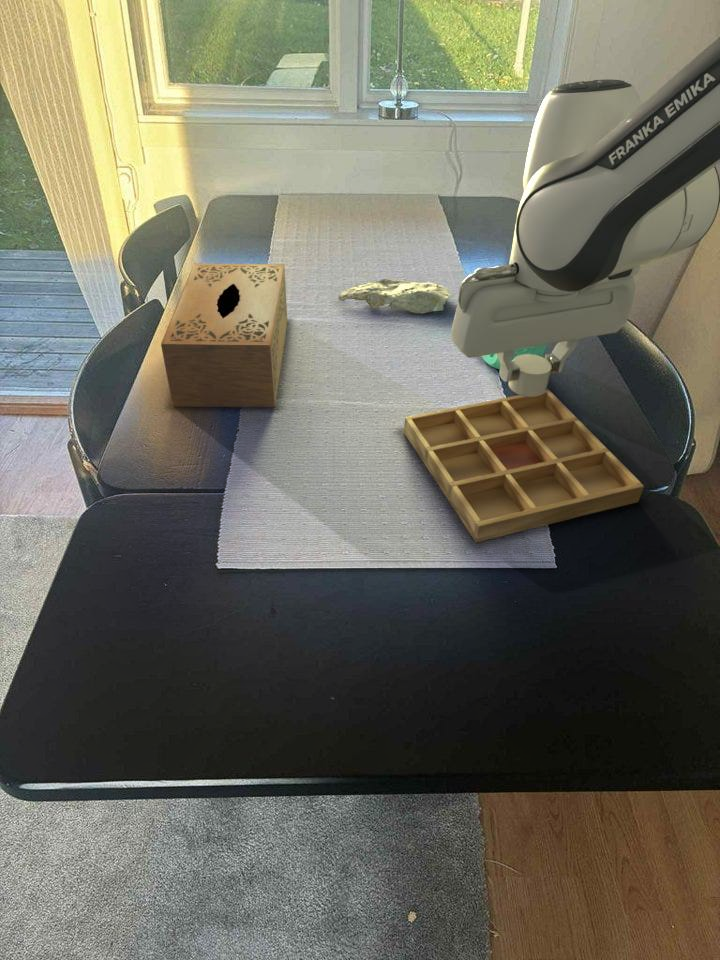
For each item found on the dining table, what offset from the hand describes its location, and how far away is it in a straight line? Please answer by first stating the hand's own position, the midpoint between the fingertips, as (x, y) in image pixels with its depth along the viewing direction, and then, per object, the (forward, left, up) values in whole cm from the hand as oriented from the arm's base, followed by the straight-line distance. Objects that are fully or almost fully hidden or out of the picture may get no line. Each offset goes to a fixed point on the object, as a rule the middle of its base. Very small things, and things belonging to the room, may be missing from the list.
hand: (530, 374), depth 80 cm
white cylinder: (0, 0, -2) cm, 2 cm away
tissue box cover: (+37, +28, -14) cm, 49 cm away
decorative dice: (+25, -13, -14) cm, 31 cm away
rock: (+48, -4, -14) cm, 50 cm away
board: (+1, -1, -14) cm, 14 cm away
